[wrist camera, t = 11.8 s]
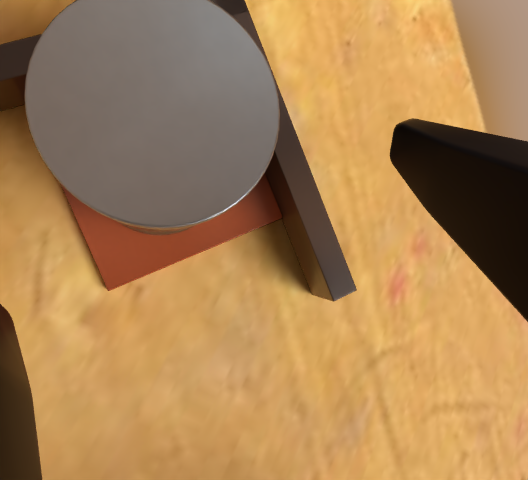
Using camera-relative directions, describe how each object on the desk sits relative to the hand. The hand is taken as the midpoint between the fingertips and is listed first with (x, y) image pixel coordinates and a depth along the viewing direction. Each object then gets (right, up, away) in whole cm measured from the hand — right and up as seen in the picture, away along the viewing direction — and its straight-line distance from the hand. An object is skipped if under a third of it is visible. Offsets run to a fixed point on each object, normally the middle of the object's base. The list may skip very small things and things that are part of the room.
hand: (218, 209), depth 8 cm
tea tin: (-4, +2, +9) cm, 10 cm away
